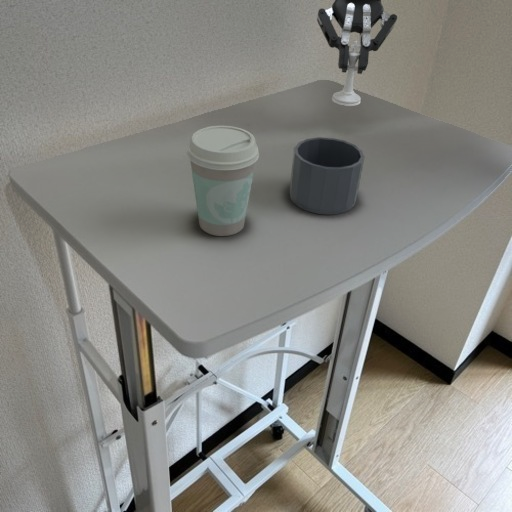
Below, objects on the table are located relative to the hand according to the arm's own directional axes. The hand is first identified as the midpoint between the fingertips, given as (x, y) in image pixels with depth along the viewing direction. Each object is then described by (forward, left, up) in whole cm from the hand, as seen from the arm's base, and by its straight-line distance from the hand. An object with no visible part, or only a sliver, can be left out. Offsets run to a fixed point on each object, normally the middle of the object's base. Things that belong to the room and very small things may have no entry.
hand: (352, 70), depth 90 cm
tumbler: (+6, +22, -11) cm, 25 cm away
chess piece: (0, -2, -6) cm, 6 cm away
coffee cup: (+20, +30, -11) cm, 38 cm away
